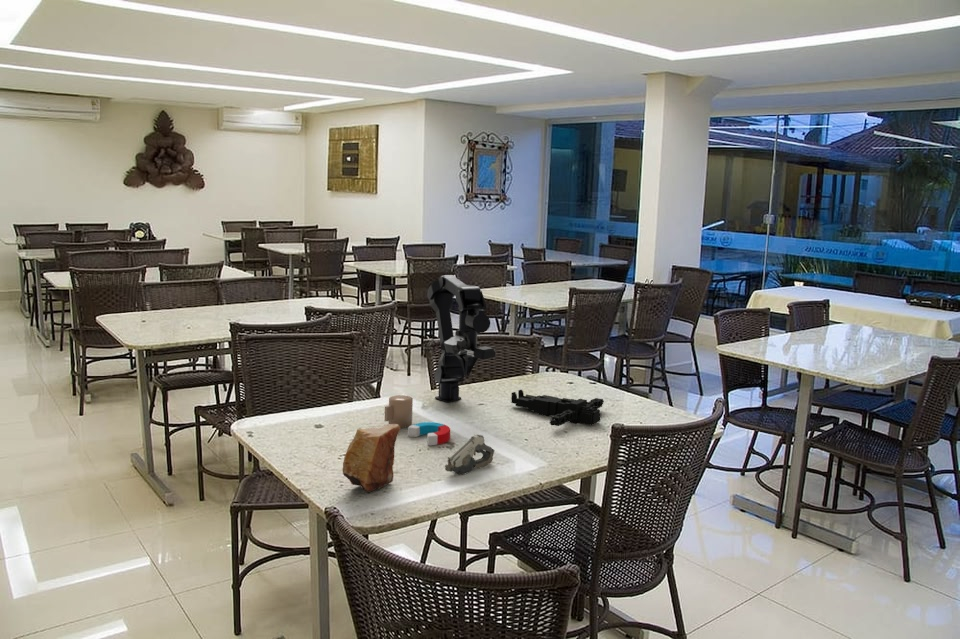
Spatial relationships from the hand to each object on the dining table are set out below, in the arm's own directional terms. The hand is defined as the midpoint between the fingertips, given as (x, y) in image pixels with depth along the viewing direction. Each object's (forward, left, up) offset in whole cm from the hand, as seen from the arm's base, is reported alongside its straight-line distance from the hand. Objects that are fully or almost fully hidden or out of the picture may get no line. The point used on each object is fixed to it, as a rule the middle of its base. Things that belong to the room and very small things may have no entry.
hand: (466, 375), depth 229 cm
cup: (-5, -24, -12) cm, 27 cm away
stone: (+25, -58, -12) cm, 64 cm away
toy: (+20, +20, -13) cm, 31 cm away
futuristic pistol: (+33, -33, -12) cm, 48 cm away
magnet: (+10, -18, -11) cm, 23 cm away
